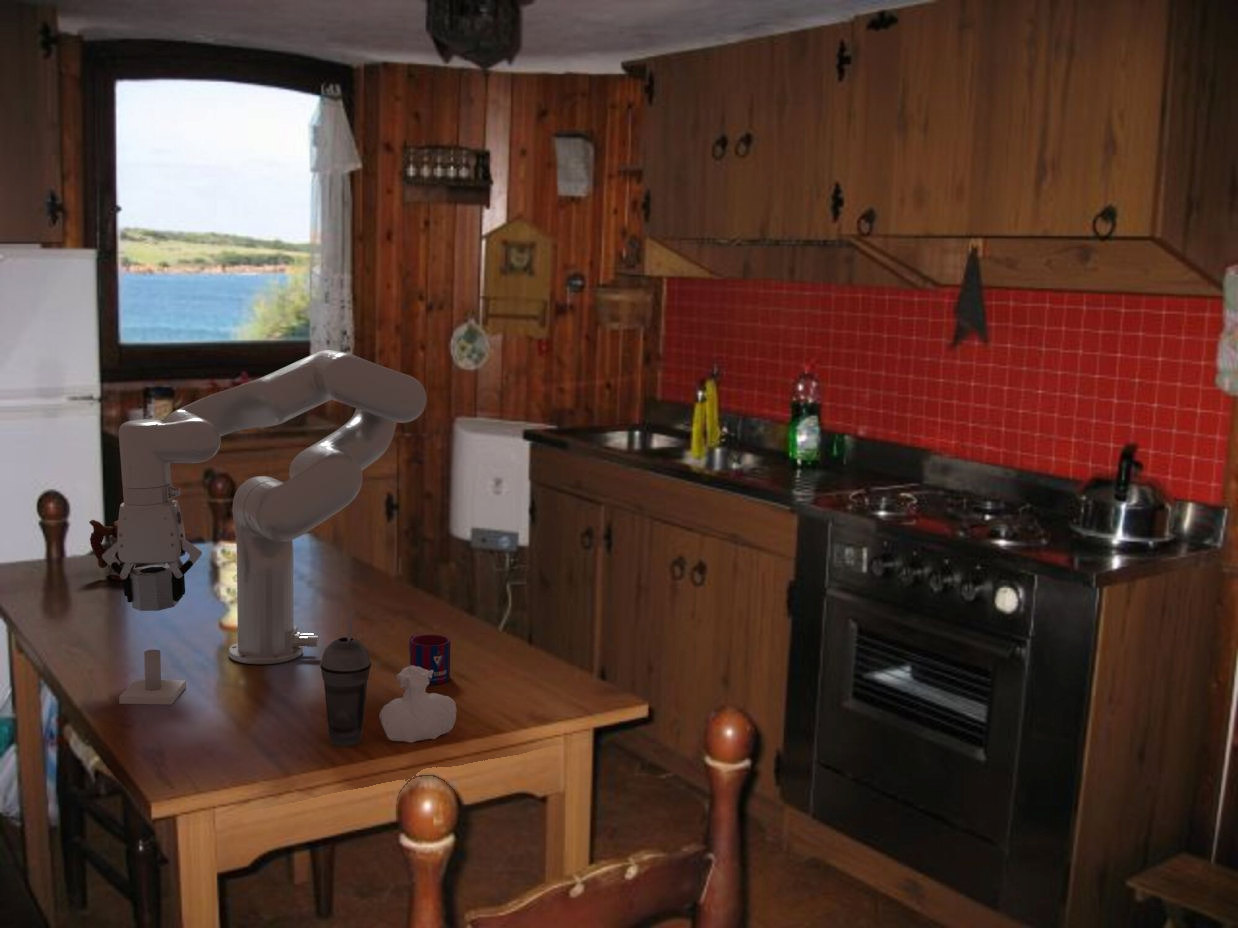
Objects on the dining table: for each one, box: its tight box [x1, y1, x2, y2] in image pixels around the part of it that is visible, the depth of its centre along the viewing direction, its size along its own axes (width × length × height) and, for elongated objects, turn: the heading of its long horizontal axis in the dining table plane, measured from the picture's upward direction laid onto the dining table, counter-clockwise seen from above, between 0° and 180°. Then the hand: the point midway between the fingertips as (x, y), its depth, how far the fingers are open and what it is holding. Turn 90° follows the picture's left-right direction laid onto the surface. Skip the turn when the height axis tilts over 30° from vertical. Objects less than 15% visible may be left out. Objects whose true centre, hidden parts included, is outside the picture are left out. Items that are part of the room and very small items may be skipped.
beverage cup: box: [319, 609, 372, 748], centre depth 187 cm, size 7×7×20 cm
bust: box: [378, 664, 457, 744], centre depth 192 cm, size 12×8×11 cm
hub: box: [130, 563, 180, 612], centre depth 214 cm, size 7×7×6 cm
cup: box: [408, 633, 452, 686], centre depth 218 cm, size 7×10×7 cm
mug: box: [88, 519, 167, 582], centre depth 275 cm, size 12×14×15 cm
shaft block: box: [118, 649, 187, 706], centre depth 204 cm, size 8×8×7 cm
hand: (155, 598), depth 215 cm, fingers closed on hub, 6 cm apart
